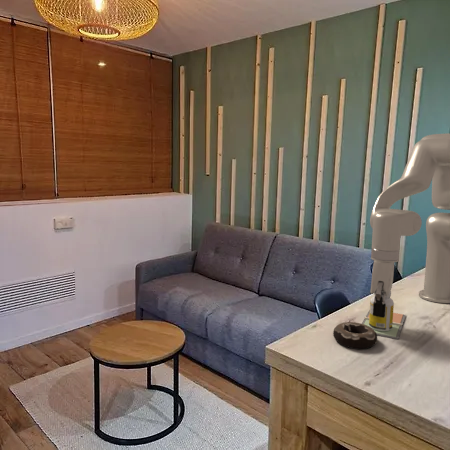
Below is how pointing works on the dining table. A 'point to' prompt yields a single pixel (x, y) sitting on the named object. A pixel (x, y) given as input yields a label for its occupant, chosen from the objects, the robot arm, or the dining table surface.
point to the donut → (355, 335)
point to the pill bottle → (381, 322)
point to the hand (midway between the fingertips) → (381, 310)
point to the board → (396, 326)
